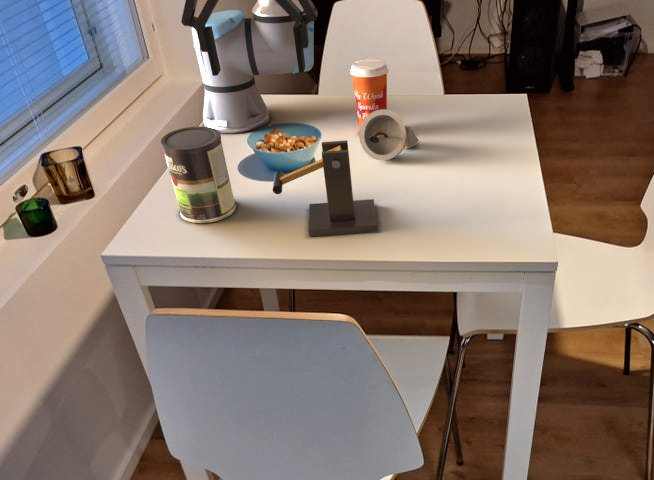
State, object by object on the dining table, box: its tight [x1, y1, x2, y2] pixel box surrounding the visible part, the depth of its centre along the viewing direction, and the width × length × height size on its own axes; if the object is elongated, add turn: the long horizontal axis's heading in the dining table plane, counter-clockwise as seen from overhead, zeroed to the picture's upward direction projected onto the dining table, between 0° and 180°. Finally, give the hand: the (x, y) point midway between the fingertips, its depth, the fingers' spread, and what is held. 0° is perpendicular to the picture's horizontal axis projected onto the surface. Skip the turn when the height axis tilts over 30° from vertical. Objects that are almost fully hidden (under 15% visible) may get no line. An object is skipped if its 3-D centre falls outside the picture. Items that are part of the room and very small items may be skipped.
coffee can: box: [159, 126, 237, 224], centre depth 121 cm, size 10×10×14 cm
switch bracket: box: [308, 139, 378, 238], centre depth 117 cm, size 12×10×14 cm
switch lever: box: [272, 146, 342, 195], centre depth 114 cm, size 13×6×2 cm, turn 96°
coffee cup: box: [349, 58, 390, 129], centre depth 147 cm, size 8×8×15 cm
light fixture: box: [359, 109, 419, 161], centre depth 140 cm, size 11×16×10 cm, turn 164°
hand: (259, 71), depth 106 cm, fingers open, 13 cm apart
